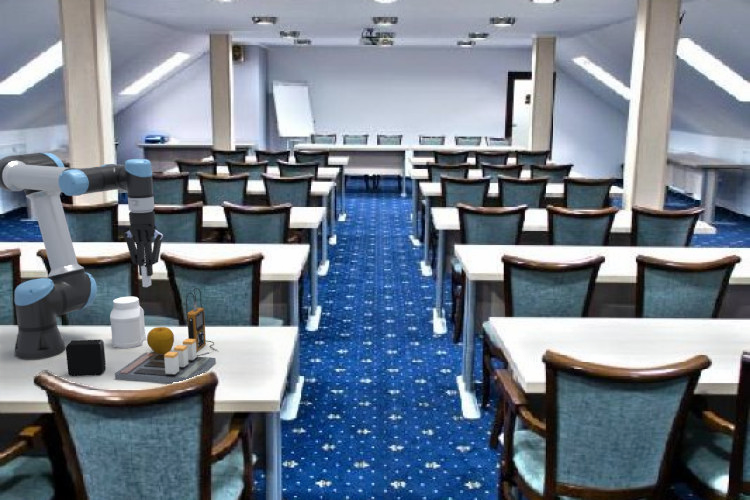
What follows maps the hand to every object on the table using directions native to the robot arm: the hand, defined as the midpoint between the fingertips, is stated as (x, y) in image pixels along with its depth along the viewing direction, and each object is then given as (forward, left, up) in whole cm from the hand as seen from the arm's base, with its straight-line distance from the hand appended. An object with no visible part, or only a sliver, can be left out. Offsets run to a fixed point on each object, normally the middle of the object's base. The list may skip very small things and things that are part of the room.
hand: (147, 285), depth 236 cm
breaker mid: (+14, -8, -22) cm, 27 cm away
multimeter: (+13, +13, -25) cm, 31 cm away
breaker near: (+14, -14, -22) cm, 30 cm away
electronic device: (-14, -14, -25) cm, 32 cm away
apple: (0, +6, -25) cm, 25 cm away
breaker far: (+14, -2, -22) cm, 26 cm away
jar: (-16, +14, -25) cm, 33 cm away
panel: (+9, -8, -24) cm, 27 cm away
